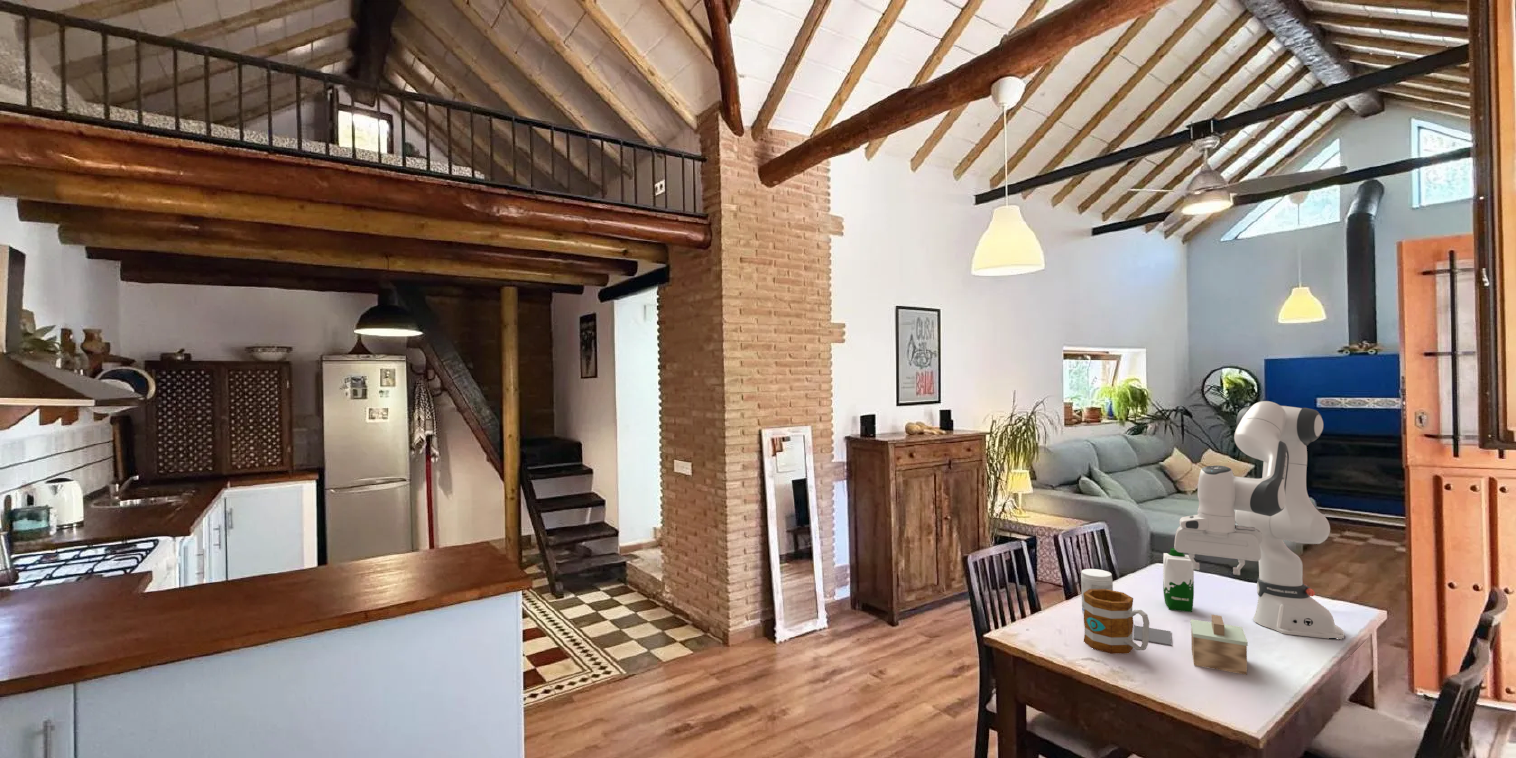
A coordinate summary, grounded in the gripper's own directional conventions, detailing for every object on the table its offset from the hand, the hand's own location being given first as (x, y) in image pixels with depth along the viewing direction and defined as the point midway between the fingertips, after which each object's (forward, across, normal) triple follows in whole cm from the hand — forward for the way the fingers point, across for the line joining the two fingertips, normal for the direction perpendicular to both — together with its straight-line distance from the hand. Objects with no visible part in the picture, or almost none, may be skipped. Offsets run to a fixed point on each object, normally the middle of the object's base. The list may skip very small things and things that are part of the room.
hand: (1216, 571), depth 185 cm
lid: (+18, 0, 0) cm, 18 cm away
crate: (+26, 0, 0) cm, 26 cm away
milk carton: (+26, +8, -45) cm, 52 cm away
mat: (+26, +16, -12) cm, 32 cm away
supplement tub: (+26, +32, -23) cm, 47 cm away
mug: (+26, +24, +4) cm, 36 cm away
